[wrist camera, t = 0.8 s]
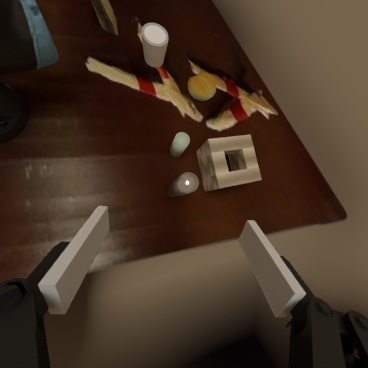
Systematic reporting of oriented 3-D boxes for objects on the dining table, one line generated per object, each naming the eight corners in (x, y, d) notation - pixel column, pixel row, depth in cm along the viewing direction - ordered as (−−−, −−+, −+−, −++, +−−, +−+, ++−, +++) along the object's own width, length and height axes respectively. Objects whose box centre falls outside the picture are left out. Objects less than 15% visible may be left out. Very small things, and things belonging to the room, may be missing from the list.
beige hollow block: (196, 151, 45) (208, 139, 36) (231, 147, 48) (250, 134, 40) (204, 191, 44) (219, 188, 35) (240, 184, 47) (261, 179, 39)
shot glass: (140, 47, 45) (139, 20, 39) (163, 49, 47) (166, 24, 40) (143, 68, 45) (143, 44, 38) (166, 70, 46) (170, 47, 40)
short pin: (168, 145, 43) (173, 132, 36) (180, 144, 44) (188, 131, 37) (171, 157, 43) (176, 147, 35) (183, 156, 44) (191, 145, 36)
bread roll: (181, 85, 47) (185, 74, 43) (203, 74, 50) (208, 63, 46) (197, 107, 48) (202, 98, 44) (218, 95, 50) (224, 86, 46)
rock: (87, -20, 42) (70, 0, 39) (100, -51, 36) (82, -31, 33) (121, 25, 49) (110, 44, 46) (137, 5, 44) (125, 25, 41)
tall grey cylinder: (165, 185, 42) (177, 173, 26) (178, 183, 43) (196, 170, 27) (168, 198, 41) (181, 194, 26) (181, 195, 42) (200, 190, 27)
